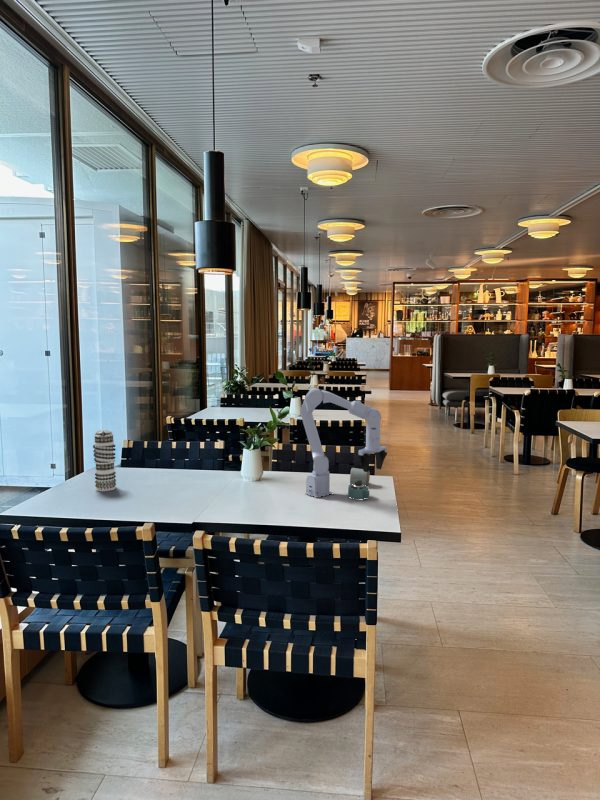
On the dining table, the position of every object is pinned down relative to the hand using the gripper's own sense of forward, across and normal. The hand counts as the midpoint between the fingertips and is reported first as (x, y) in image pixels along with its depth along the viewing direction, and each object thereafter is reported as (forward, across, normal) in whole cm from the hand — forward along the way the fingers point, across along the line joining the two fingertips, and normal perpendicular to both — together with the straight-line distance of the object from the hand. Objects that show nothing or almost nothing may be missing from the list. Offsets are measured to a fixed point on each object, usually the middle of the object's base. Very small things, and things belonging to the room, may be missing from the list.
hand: (372, 470), depth 229 cm
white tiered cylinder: (+11, -84, +77) cm, 114 cm away
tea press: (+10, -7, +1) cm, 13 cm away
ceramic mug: (+11, +8, +15) cm, 20 cm away
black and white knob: (+10, -7, +1) cm, 12 cm away
